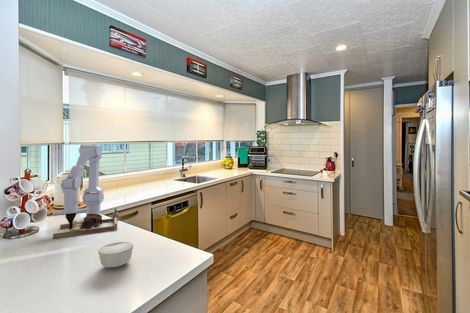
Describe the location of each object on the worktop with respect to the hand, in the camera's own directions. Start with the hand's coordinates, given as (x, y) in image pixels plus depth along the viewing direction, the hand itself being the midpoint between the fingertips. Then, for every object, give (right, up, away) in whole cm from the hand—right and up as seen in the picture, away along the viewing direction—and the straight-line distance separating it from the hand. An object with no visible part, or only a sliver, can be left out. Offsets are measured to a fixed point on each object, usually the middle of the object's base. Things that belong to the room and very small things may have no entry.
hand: (71, 228), depth 114 cm
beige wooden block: (+2, -1, +1) cm, 3 cm away
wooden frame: (+6, -1, +3) cm, 7 cm away
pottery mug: (+8, -2, +4) cm, 9 cm away
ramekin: (+40, -2, -33) cm, 52 cm away
